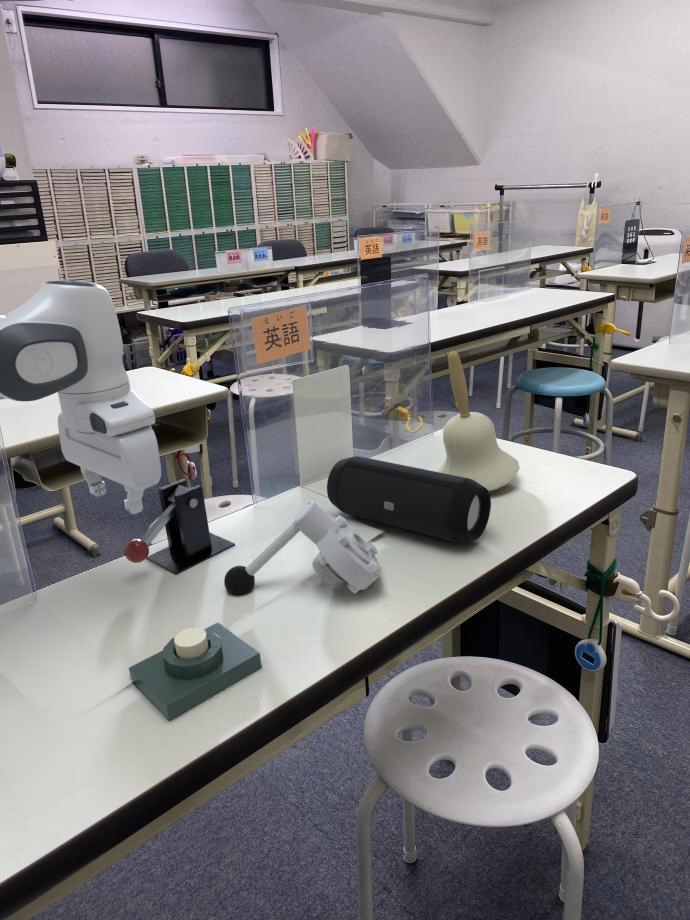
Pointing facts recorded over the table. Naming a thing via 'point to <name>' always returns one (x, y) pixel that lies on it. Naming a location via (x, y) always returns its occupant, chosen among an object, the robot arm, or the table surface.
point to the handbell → (473, 440)
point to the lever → (151, 532)
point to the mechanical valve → (335, 562)
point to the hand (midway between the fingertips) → (116, 503)
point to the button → (191, 643)
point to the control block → (194, 672)
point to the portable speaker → (410, 498)
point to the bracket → (187, 531)
